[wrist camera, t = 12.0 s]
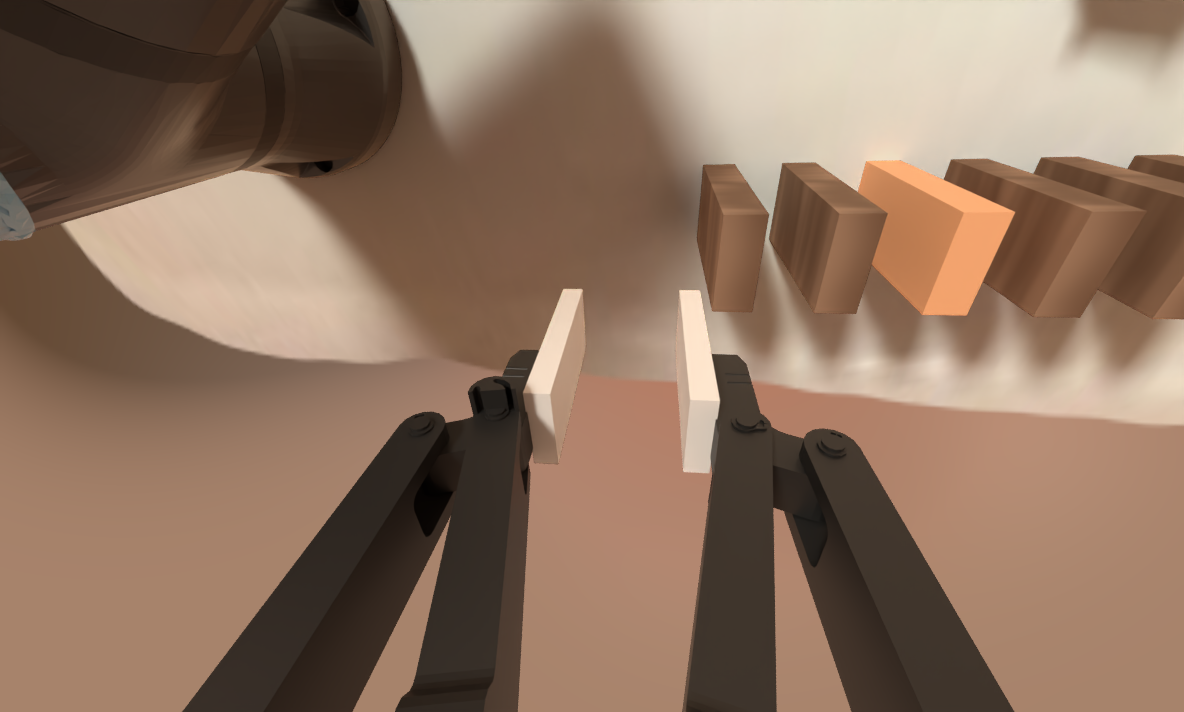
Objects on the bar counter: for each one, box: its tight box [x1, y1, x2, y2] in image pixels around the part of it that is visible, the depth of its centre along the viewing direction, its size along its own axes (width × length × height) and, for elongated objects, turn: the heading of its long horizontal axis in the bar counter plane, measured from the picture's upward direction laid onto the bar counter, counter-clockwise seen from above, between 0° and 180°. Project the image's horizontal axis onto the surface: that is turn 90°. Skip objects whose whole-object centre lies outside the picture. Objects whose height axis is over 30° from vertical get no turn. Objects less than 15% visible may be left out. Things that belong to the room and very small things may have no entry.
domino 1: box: [697, 164, 769, 312], centre depth 27 cm, size 2×5×11 cm, turn 2°
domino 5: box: [1034, 157, 1184, 319], centre depth 24 cm, size 2×5×11 cm, turn 2°
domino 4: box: [944, 159, 1147, 318], centre depth 25 cm, size 2×5×11 cm, turn 2°
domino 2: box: [769, 163, 888, 314], centre depth 26 cm, size 2×5×11 cm, turn 2°
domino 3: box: [858, 161, 1015, 315], centre depth 25 cm, size 2×5×11 cm, turn 2°
